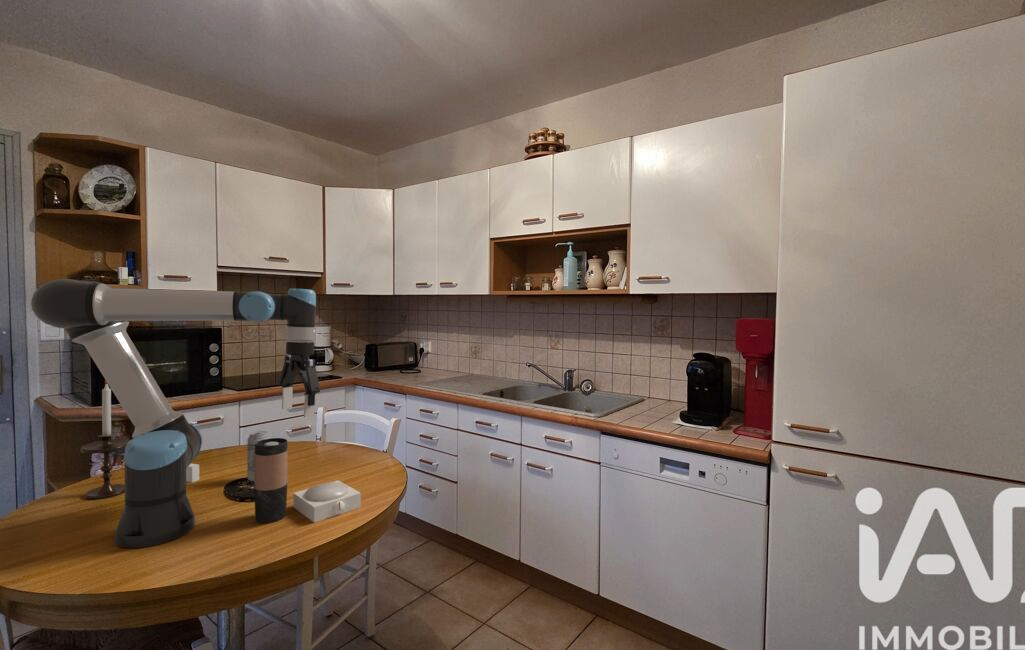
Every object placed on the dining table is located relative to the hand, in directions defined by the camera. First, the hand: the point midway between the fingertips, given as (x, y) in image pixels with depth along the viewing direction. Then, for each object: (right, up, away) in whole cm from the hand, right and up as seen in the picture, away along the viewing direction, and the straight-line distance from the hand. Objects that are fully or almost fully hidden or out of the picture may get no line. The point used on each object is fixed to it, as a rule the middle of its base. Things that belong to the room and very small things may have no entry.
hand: (297, 412), depth 132 cm
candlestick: (-54, -23, -2) cm, 59 cm away
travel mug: (0, -25, -15) cm, 29 cm away
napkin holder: (-42, -24, +11) cm, 49 cm away
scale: (+12, -25, -8) cm, 29 cm away
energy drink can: (-18, -24, +10) cm, 31 cm away
